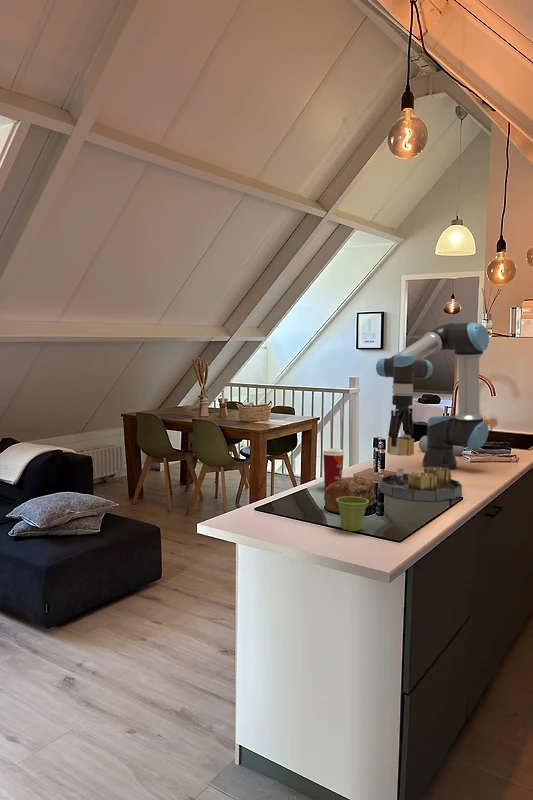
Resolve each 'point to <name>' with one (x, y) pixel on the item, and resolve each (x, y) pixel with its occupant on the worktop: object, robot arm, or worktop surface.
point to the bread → (349, 491)
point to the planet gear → (403, 446)
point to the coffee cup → (332, 465)
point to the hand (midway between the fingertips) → (400, 453)
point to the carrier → (399, 489)
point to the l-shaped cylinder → (423, 446)
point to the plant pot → (352, 512)
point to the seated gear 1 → (422, 481)
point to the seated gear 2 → (440, 475)
